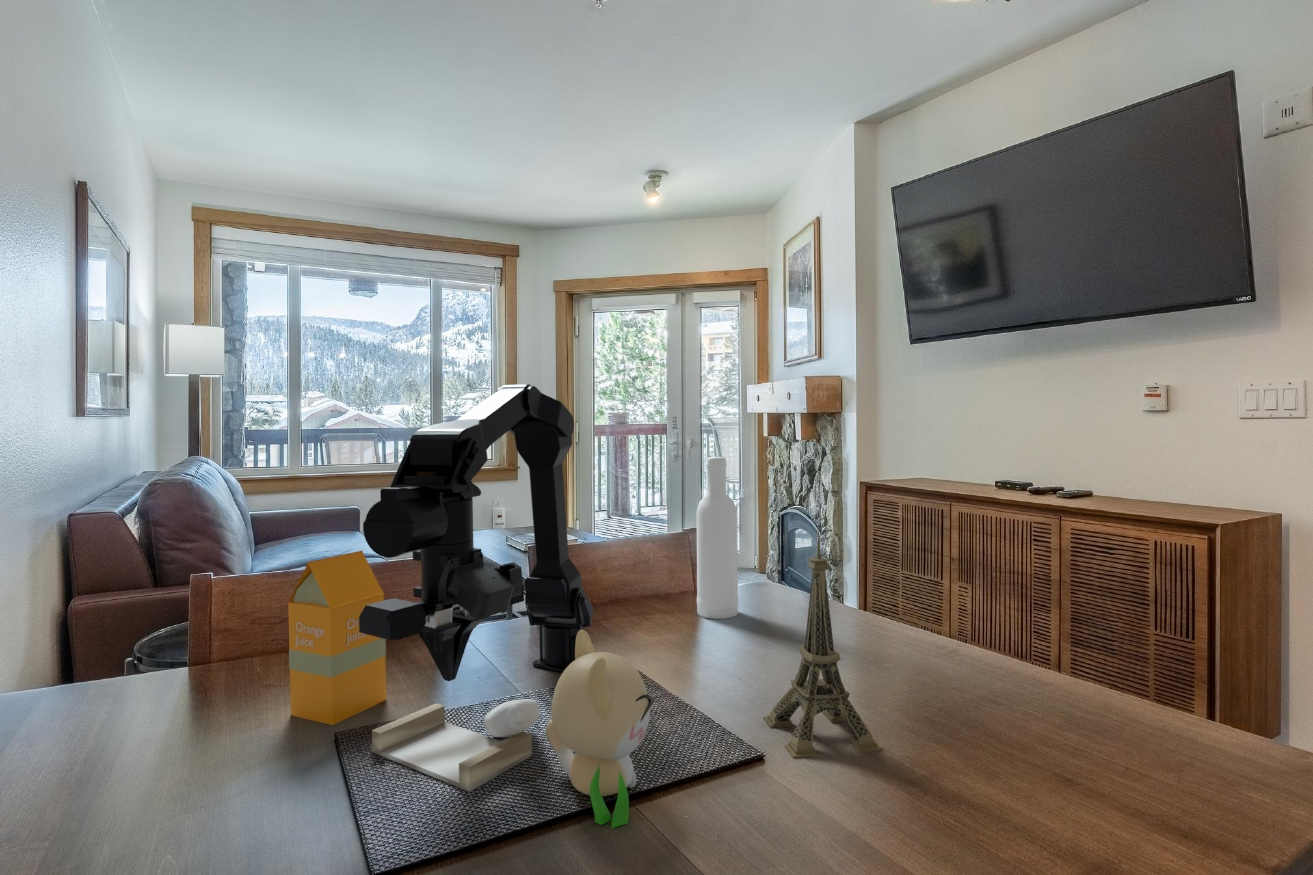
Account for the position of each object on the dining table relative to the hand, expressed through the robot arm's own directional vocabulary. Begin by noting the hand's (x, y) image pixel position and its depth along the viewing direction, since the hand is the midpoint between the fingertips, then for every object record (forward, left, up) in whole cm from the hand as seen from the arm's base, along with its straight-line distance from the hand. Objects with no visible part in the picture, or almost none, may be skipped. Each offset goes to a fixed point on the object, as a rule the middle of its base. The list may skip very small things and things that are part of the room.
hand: (449, 679), depth 79 cm
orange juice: (-23, +1, -9) cm, 25 cm away
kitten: (+19, +3, -9) cm, 21 cm away
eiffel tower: (+33, +27, -9) cm, 44 cm away
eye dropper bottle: (+1, +8, -7) cm, 10 cm away
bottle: (-2, +66, -9) cm, 67 cm away
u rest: (0, 0, -8) cm, 9 cm away
